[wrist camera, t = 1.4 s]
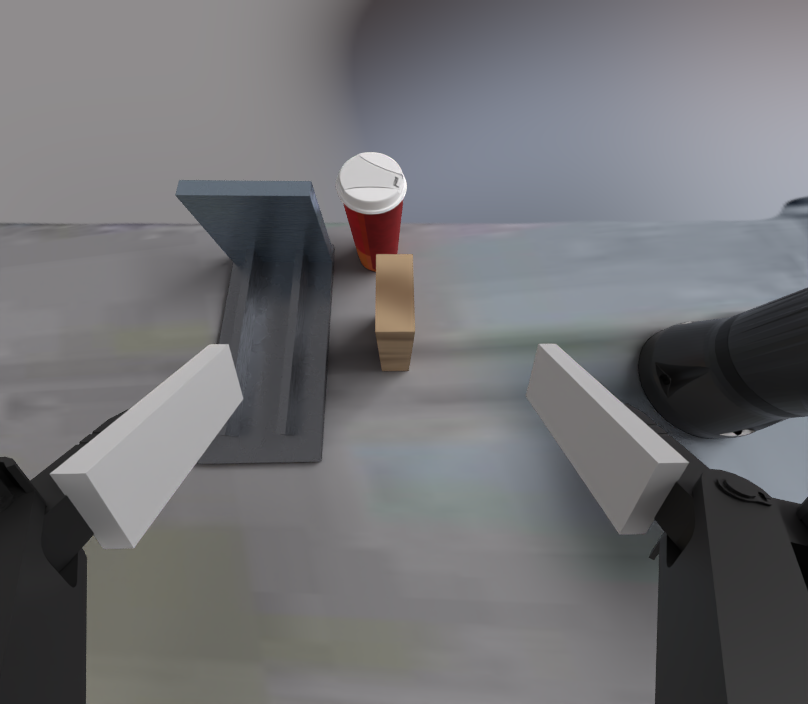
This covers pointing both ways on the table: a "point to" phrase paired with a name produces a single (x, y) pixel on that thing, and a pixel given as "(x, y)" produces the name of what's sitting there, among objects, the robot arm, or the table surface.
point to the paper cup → (372, 203)
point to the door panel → (394, 310)
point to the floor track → (271, 314)
